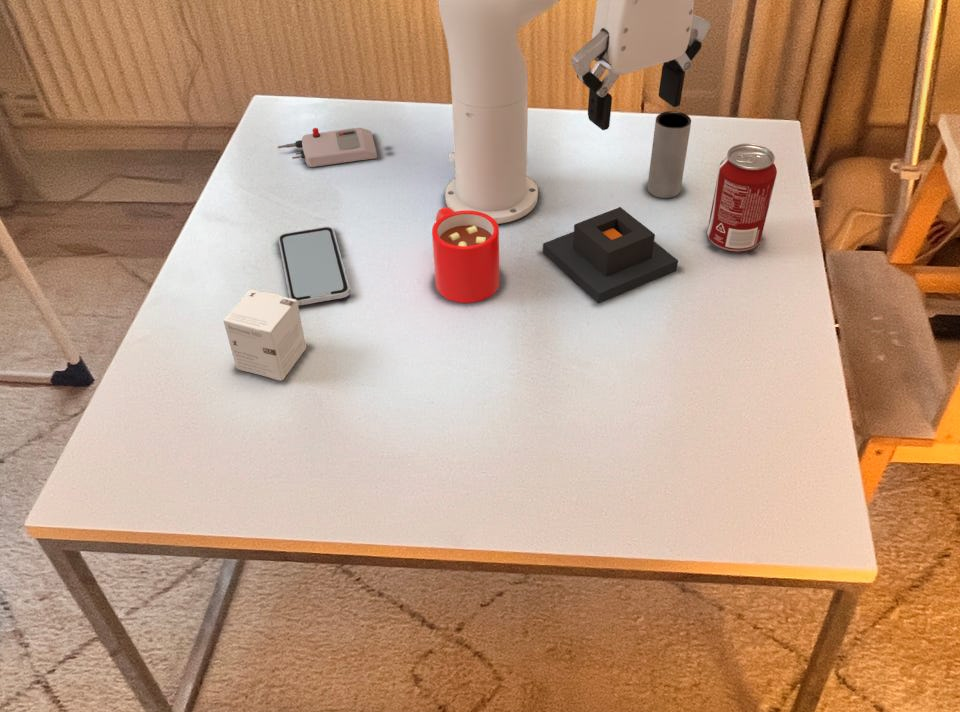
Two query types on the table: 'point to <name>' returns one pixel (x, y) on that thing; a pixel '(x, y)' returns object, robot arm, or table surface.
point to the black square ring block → (613, 241)
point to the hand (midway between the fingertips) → (634, 112)
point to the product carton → (265, 334)
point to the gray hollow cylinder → (668, 154)
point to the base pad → (597, 282)
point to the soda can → (742, 197)
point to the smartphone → (313, 266)
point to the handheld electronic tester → (335, 146)
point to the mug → (466, 255)
